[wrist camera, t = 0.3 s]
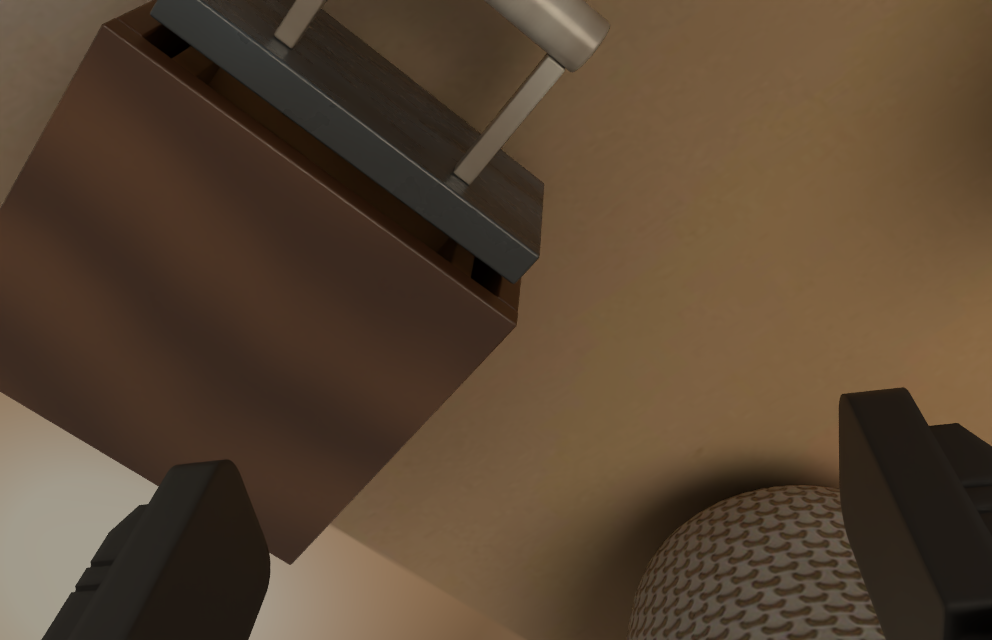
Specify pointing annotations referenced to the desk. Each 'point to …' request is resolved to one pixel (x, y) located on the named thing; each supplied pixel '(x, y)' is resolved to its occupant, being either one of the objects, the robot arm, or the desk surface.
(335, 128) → the drawer
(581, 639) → the desk surface
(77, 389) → the cabinet
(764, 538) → the planter
